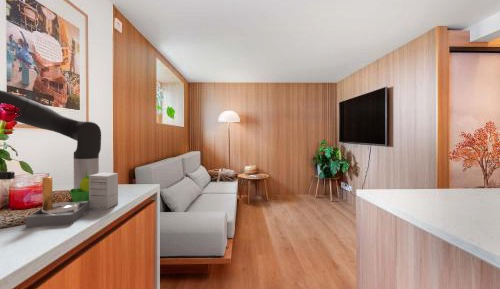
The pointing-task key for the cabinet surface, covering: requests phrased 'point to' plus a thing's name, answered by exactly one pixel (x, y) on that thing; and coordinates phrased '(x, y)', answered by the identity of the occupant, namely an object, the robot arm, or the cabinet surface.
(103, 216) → the cabinet surface
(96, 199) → the supplement box
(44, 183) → the dial
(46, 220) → the housing
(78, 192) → the fruit basket
